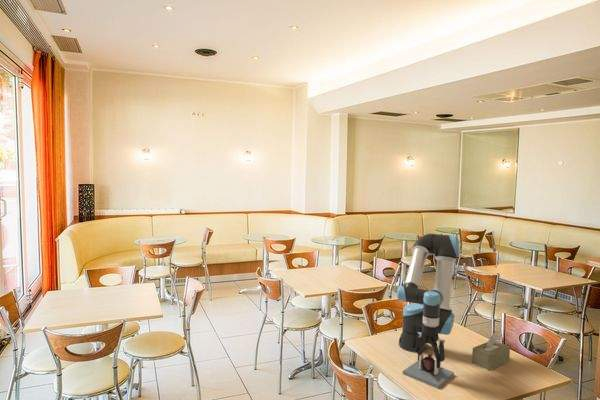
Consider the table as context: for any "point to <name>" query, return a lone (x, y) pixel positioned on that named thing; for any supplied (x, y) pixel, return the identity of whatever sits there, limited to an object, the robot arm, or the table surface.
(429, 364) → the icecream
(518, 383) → the table surface
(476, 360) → the tissue box
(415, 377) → the slate plate
